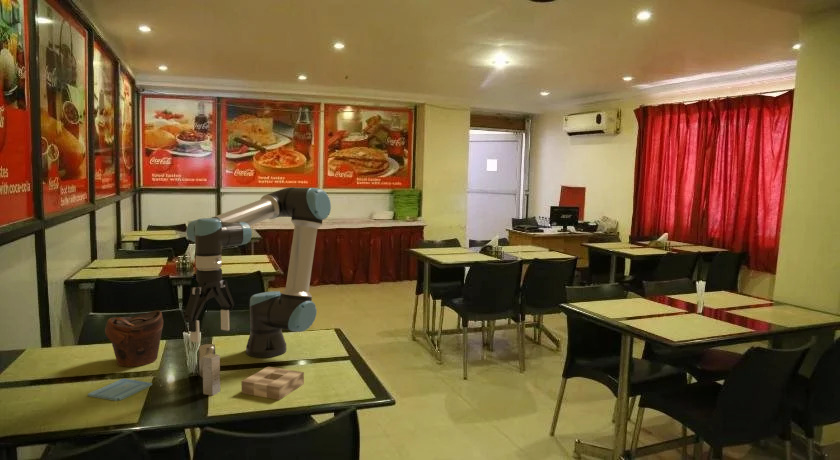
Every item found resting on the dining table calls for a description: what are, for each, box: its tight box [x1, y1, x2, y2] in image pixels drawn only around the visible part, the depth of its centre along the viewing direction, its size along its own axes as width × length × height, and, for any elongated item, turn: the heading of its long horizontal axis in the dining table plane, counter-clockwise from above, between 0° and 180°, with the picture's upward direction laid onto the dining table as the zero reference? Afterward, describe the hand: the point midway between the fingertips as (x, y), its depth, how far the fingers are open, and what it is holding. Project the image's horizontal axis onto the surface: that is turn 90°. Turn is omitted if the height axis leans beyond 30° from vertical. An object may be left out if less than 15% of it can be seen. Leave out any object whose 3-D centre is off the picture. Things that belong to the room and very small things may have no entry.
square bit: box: [202, 353, 221, 396], centre depth 174 cm, size 4×4×12 cm
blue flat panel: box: [87, 378, 153, 402], centre depth 176 cm, size 14×12×1 cm
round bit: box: [198, 343, 216, 378], centre depth 190 cm, size 5×5×10 cm
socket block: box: [240, 366, 305, 401], centre depth 179 cm, size 14×14×4 cm
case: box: [104, 309, 164, 368], centre depth 201 cm, size 18×20×18 cm
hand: (210, 335), depth 173 cm, fingers open, 13 cm apart
